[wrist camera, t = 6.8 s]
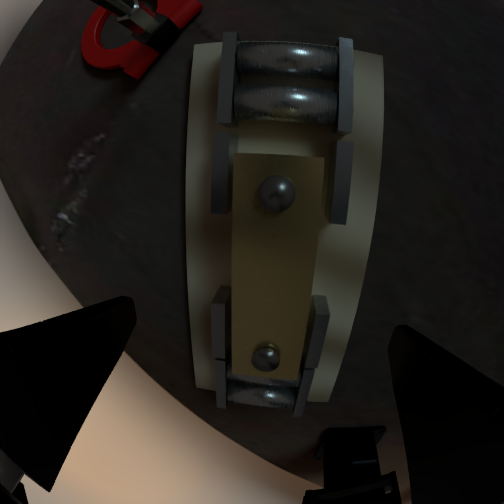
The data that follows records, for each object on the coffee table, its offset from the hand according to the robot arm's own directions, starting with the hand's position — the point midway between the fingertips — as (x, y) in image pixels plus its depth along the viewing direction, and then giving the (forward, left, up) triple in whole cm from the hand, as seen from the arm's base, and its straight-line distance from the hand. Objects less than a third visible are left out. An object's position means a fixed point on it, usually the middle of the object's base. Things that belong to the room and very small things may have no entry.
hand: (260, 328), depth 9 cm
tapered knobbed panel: (0, 0, -8) cm, 8 cm away
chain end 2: (-7, 0, -8) cm, 11 cm away
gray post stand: (+16, +11, -9) cm, 21 cm away
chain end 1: (+7, 0, -8) cm, 10 cm away
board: (0, 0, -9) cm, 9 cm away
